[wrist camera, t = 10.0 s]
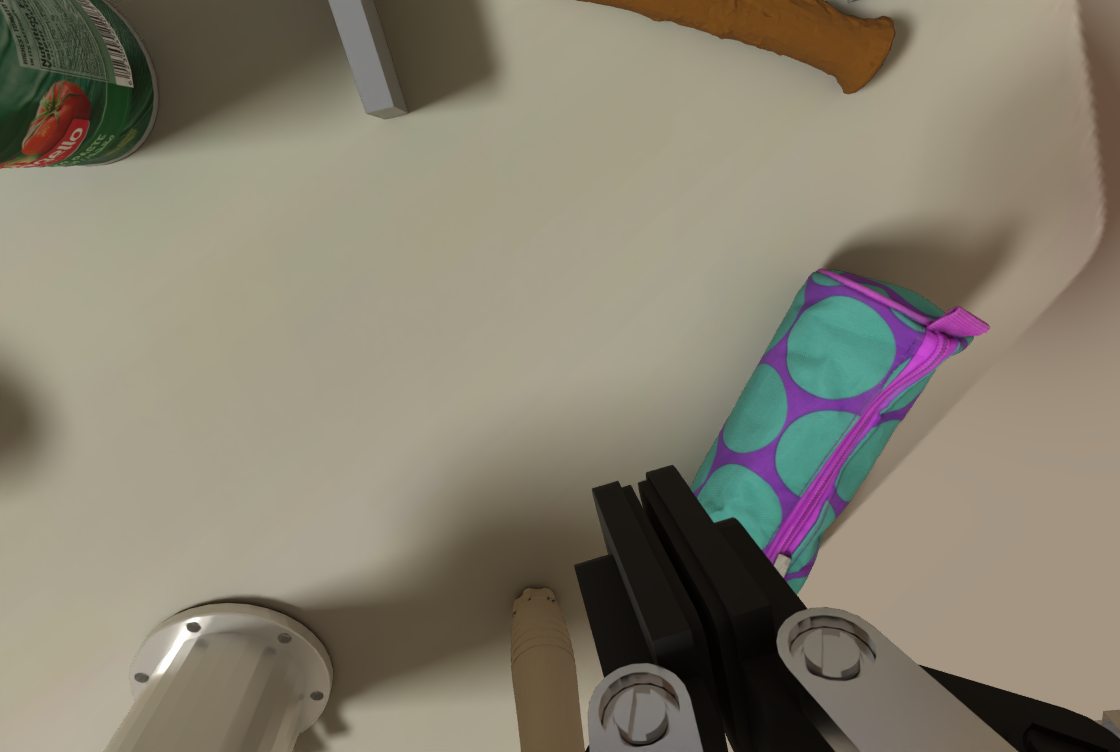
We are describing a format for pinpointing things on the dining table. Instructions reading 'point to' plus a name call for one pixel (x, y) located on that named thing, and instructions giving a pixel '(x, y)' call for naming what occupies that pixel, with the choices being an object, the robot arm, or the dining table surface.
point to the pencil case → (824, 410)
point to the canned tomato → (72, 84)
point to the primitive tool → (785, 31)
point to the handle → (544, 676)
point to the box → (370, 57)
